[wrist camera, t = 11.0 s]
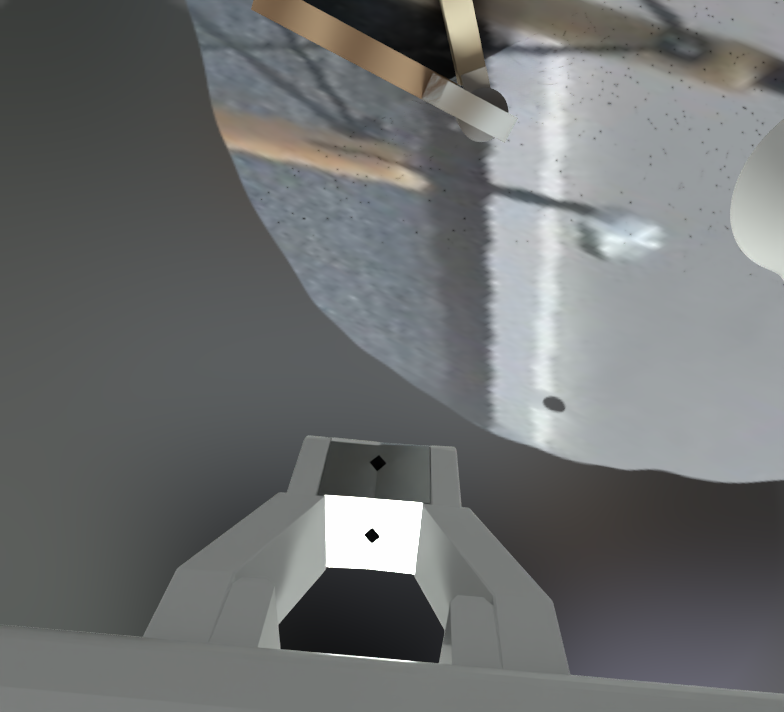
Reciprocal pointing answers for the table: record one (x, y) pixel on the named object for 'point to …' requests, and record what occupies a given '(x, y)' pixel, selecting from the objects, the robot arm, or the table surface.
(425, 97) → the tongs jaw
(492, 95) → the base
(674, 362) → the table surface
